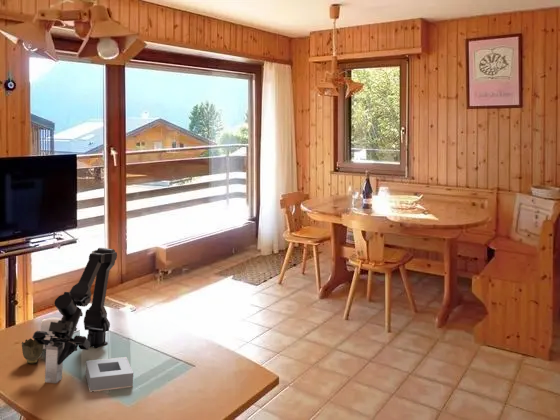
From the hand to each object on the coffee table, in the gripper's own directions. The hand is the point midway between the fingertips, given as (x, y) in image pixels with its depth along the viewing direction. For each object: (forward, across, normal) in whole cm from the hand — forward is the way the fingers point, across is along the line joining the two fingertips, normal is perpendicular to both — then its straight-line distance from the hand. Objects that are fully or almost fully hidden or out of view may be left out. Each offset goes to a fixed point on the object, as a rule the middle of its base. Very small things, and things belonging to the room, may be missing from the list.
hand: (52, 363), depth 180 cm
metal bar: (+4, 0, +6) cm, 7 cm away
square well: (0, +18, +9) cm, 20 cm away
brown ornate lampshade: (-4, -14, +14) cm, 20 cm away
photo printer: (-14, -14, +24) cm, 31 cm away
